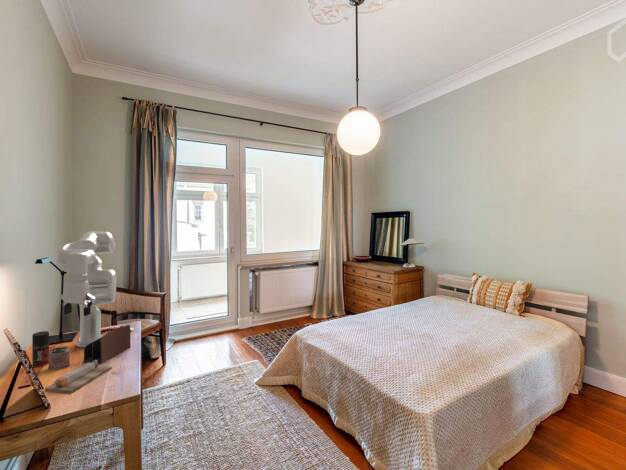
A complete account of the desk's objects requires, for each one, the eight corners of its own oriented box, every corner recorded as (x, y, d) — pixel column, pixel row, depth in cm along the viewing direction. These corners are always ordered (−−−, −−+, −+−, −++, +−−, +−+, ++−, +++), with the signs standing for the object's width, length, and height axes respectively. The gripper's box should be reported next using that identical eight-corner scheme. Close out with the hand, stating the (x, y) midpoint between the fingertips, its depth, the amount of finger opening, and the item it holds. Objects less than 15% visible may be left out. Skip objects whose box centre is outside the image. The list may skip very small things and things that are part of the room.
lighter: (47, 370, 139) (47, 349, 139) (49, 367, 142) (50, 346, 142) (68, 367, 143) (68, 346, 142) (71, 364, 146) (71, 344, 145)
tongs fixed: (93, 366, 142) (93, 359, 142) (98, 366, 142) (98, 359, 142) (56, 387, 124) (56, 379, 124) (61, 387, 124) (61, 379, 124)
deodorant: (46, 360, 149) (47, 330, 149) (50, 363, 146) (50, 333, 145) (30, 364, 144) (30, 333, 144) (34, 368, 141) (34, 336, 140)
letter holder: (130, 348, 167) (131, 322, 166) (101, 364, 147) (101, 335, 146) (114, 346, 168) (114, 321, 167) (83, 362, 148) (83, 334, 148)
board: (88, 366, 144) (88, 364, 144) (111, 368, 143) (111, 366, 143) (45, 390, 123) (45, 388, 123) (71, 393, 122) (71, 390, 122)
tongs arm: (92, 368, 140) (92, 362, 140) (95, 368, 140) (95, 362, 140) (59, 386, 124) (59, 379, 124) (62, 387, 124) (62, 379, 124)
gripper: (52, 278, 137) (53, 315, 138) (87, 281, 135) (88, 318, 137) (67, 275, 144) (67, 310, 146) (101, 277, 143) (101, 313, 144)
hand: (77, 314), depth 141 cm, fingers open, 9 cm apart
